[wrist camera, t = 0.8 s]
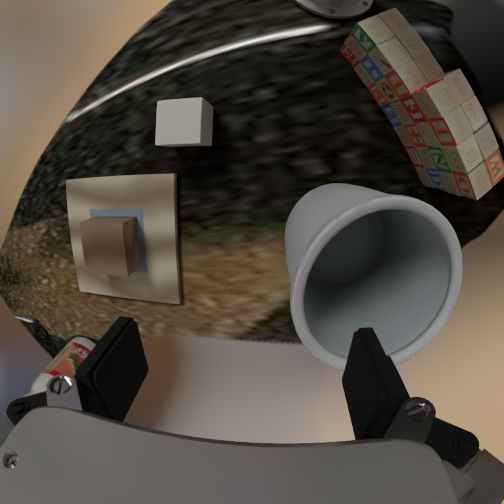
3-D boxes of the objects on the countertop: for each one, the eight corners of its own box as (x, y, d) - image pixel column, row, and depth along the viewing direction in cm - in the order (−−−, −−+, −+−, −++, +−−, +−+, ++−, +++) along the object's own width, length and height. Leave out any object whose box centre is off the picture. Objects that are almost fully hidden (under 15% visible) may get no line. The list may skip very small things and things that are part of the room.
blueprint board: (69, 179, 35) (65, 180, 34) (176, 173, 34) (174, 174, 33) (83, 288, 41) (80, 291, 40) (181, 301, 40) (179, 304, 39)
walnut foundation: (95, 216, 35) (79, 222, 32) (136, 216, 35) (122, 223, 31) (100, 262, 38) (86, 272, 34) (140, 265, 37) (128, 277, 34)
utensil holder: (388, 175, 32) (473, 194, 16) (387, 281, 37) (445, 356, 20) (276, 181, 34) (282, 204, 17) (286, 292, 38) (294, 384, 22)
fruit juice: (65, 332, 44) (-18, 424, 18) (101, 338, 44) (17, 450, 17) (80, 368, 47) (14, 461, 21) (115, 376, 47) (52, 484, 20)
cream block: (175, 109, 31) (157, 101, 26) (213, 107, 31) (202, 97, 26) (173, 146, 33) (155, 145, 27) (211, 145, 33) (200, 143, 27)
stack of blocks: (337, 50, 28) (364, 8, 16) (371, 34, 26) (406, -6, 14) (423, 186, 32) (478, 202, 21) (451, 165, 31) (508, 174, 19)
